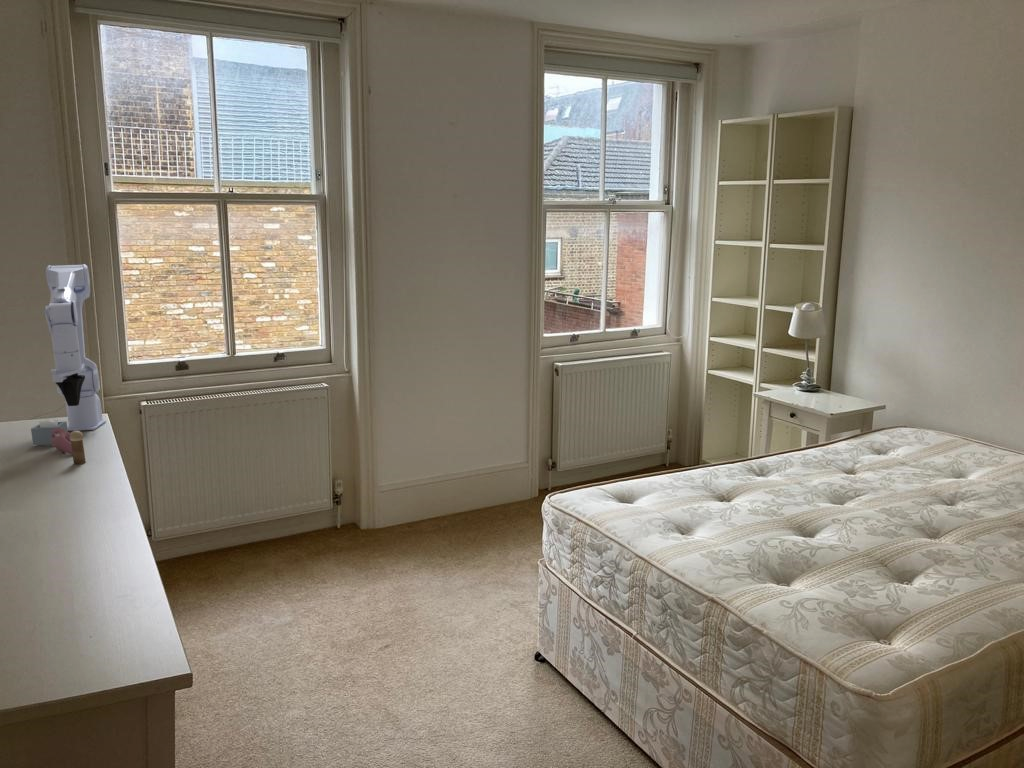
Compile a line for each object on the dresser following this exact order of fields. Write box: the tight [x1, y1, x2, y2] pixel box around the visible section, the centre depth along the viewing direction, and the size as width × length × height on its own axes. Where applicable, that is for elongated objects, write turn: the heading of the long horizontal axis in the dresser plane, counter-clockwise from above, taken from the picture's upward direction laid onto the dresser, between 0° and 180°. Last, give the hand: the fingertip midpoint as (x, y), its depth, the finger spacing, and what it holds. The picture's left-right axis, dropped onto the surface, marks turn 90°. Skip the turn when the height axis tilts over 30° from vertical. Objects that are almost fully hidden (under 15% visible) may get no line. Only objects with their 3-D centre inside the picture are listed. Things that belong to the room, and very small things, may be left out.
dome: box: [38, 418, 59, 427], centre depth 207 cm, size 4×4×4 cm
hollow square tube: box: [30, 421, 69, 446], centre depth 207 cm, size 6×6×4 cm
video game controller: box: [50, 427, 73, 455], centre depth 199 cm, size 10×5×7 cm, turn 25°
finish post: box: [69, 430, 87, 465], centre depth 188 cm, size 3×3×8 cm
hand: (73, 405), depth 205 cm, fingers closed
